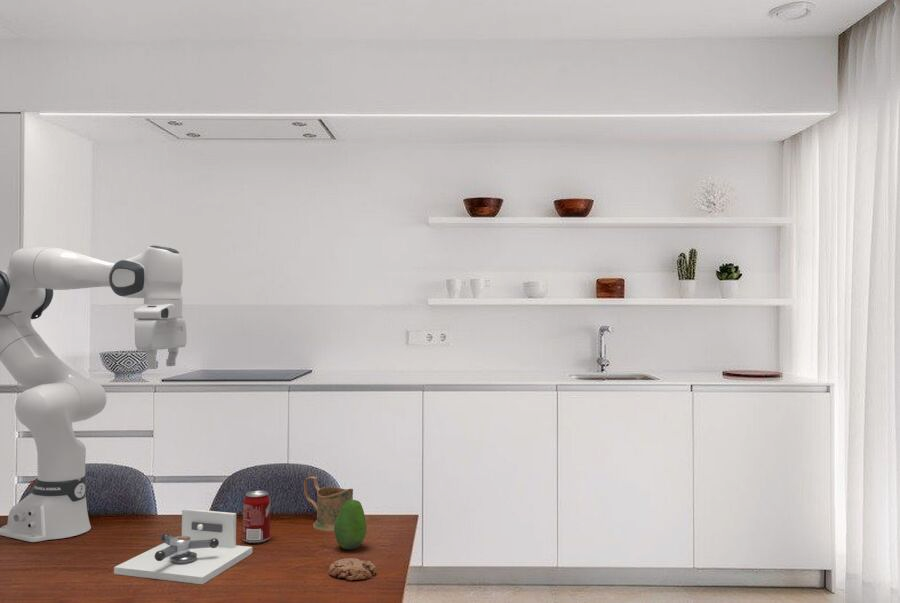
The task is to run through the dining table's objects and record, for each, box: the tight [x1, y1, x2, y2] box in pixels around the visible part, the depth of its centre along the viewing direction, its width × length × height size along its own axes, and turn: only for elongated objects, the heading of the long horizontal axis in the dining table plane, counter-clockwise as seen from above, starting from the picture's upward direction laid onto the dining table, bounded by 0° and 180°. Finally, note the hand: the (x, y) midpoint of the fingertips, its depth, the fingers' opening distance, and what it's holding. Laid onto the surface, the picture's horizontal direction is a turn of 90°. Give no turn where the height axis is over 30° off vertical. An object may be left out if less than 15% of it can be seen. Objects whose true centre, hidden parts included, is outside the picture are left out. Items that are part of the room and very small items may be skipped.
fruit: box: [333, 499, 367, 551], centre depth 180 cm, size 8×8×12 cm
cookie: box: [328, 557, 377, 581], centre depth 163 cm, size 10×11×3 cm
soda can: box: [241, 490, 271, 545], centre depth 186 cm, size 7×7×12 cm
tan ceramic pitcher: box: [303, 476, 354, 533], centre depth 201 cm, size 12×18×12 cm, turn 54°
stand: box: [113, 508, 254, 585], centre depth 168 cm, size 22×21×10 cm
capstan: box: [155, 533, 219, 563], centre depth 164 cm, size 15×13×5 cm
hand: (162, 367), depth 180 cm, fingers open, 8 cm apart
